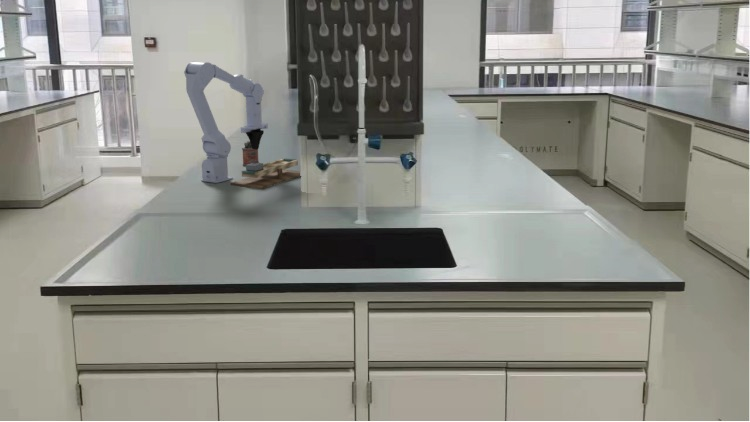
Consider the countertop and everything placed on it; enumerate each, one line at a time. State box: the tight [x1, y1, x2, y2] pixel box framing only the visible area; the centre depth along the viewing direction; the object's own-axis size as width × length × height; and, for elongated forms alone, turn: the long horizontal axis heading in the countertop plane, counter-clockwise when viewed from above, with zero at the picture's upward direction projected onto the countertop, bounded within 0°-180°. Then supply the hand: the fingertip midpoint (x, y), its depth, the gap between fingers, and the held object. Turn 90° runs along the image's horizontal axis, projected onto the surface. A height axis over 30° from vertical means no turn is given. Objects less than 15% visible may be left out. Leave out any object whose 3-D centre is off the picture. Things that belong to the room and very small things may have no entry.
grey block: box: [245, 162, 264, 172], centre depth 262 cm, size 5×4×3 cm
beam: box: [241, 157, 299, 178], centre depth 270 cm, size 27×7×2 cm, turn 152°
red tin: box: [241, 140, 260, 167], centre depth 299 cm, size 8×3×10 cm, turn 143°
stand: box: [230, 168, 301, 190], centre depth 271 cm, size 30×14×4 cm, turn 152°
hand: (255, 148), depth 282 cm, fingers closed
